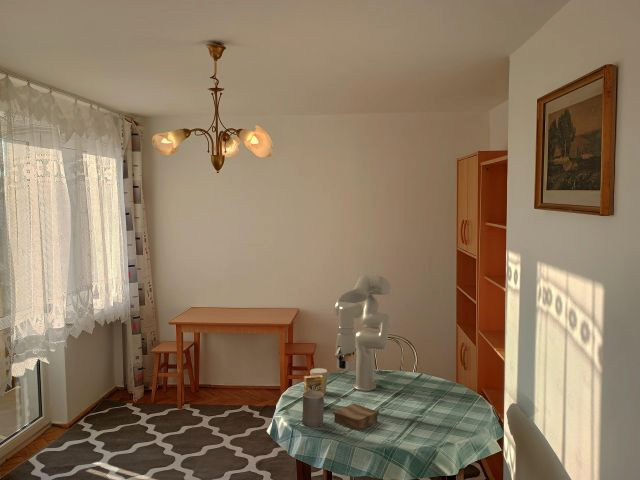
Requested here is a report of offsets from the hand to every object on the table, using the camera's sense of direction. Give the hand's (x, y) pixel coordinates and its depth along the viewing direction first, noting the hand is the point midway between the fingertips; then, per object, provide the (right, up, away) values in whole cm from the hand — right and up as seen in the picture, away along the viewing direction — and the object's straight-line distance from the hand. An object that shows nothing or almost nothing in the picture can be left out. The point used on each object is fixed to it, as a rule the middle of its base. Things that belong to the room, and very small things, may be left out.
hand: (345, 366), depth 286 cm
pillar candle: (-16, -22, -20) cm, 34 cm away
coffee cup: (-13, -19, +22) cm, 32 cm away
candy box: (-16, -20, +2) cm, 26 cm away
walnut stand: (+4, -22, -18) cm, 28 cm away
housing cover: (0, +4, 0) cm, 4 cm away
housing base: (0, -1, 0) cm, 1 cm away
